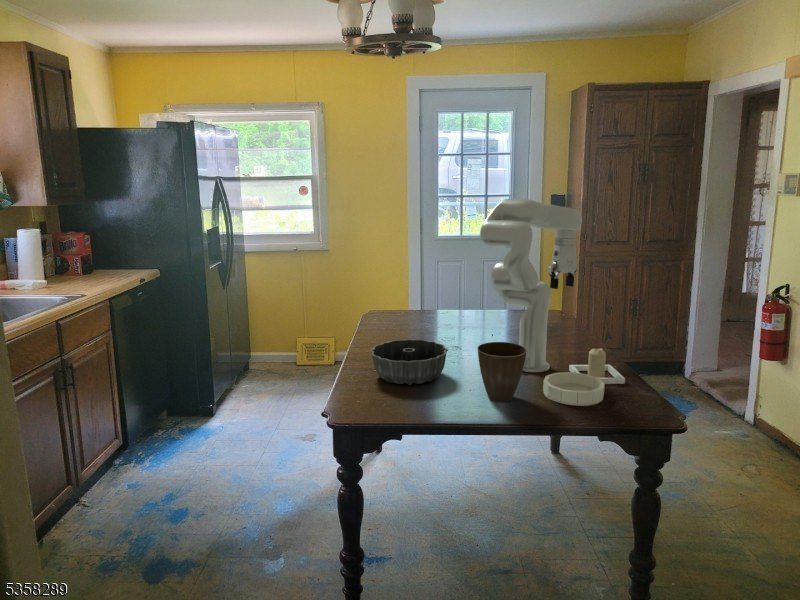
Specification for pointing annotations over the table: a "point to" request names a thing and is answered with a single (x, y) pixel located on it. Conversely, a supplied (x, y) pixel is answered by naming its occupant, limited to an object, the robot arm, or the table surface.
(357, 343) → the table surface
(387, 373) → the bundt pan
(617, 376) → the white square frame
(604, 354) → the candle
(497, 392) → the plant pot
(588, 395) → the bowl
